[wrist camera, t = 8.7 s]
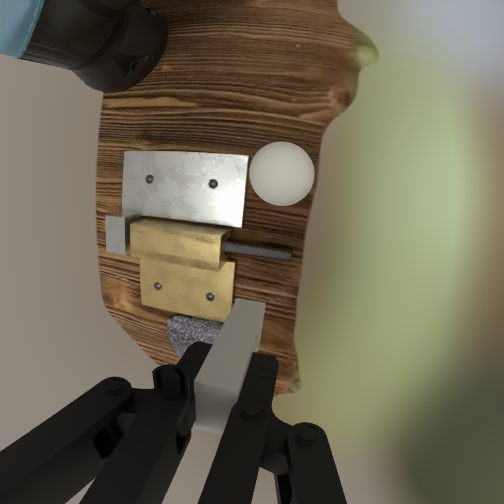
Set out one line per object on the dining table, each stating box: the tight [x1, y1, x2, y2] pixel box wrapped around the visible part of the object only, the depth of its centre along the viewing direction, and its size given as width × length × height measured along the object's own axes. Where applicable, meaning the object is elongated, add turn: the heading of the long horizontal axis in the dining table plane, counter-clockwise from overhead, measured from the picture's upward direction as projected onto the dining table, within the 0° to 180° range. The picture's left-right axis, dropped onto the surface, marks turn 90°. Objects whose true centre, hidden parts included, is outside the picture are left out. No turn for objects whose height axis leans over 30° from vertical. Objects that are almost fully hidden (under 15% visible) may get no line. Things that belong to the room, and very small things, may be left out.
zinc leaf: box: [106, 151, 292, 261], centre depth 35 cm, size 14×24×5 cm, turn 84°
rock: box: [167, 315, 224, 359], centre depth 42 cm, size 12×5×10 cm
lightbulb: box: [249, 141, 314, 206], centre depth 29 cm, size 6×6×11 cm
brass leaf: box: [130, 217, 237, 322], centre depth 38 cm, size 13×14×5 cm
